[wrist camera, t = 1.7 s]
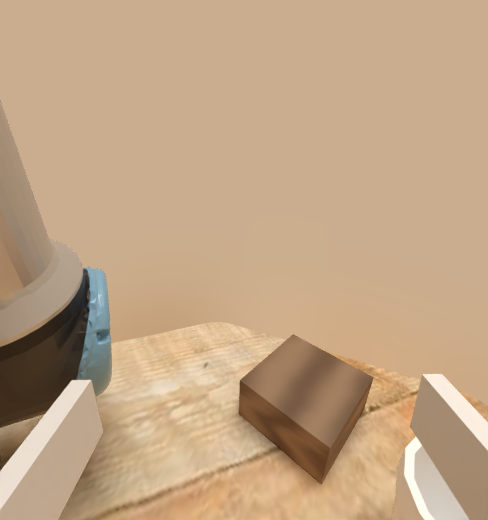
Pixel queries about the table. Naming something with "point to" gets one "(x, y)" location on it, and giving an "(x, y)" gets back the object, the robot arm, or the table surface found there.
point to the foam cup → (423, 489)
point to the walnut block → (305, 402)
